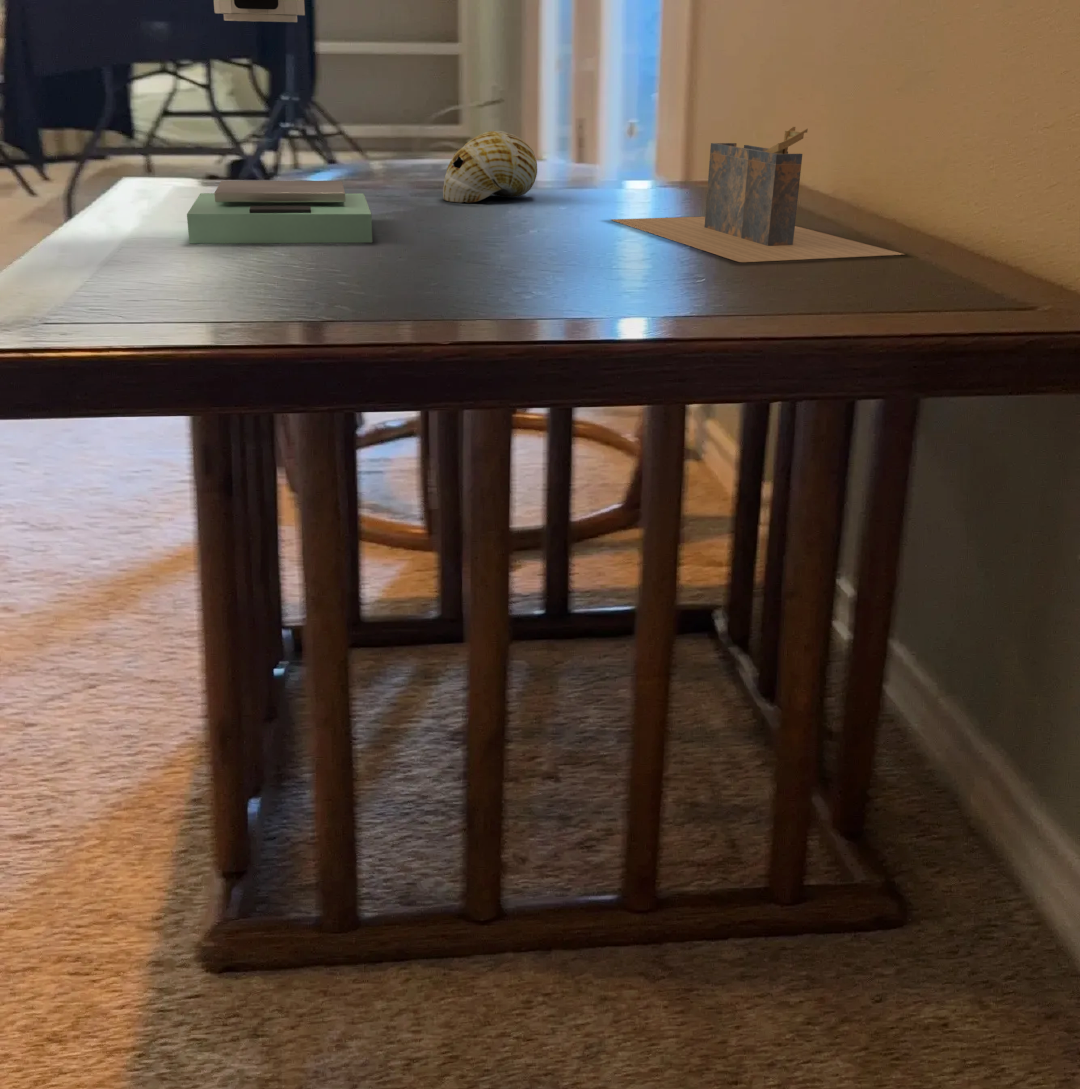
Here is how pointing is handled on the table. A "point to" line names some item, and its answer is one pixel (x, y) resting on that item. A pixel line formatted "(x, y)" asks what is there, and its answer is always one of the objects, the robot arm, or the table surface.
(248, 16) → the bowl
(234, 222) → the scale
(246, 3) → the robot arm
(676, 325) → the table surface
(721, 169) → the ruin model on sheet
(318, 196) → the pan
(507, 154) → the seashell
